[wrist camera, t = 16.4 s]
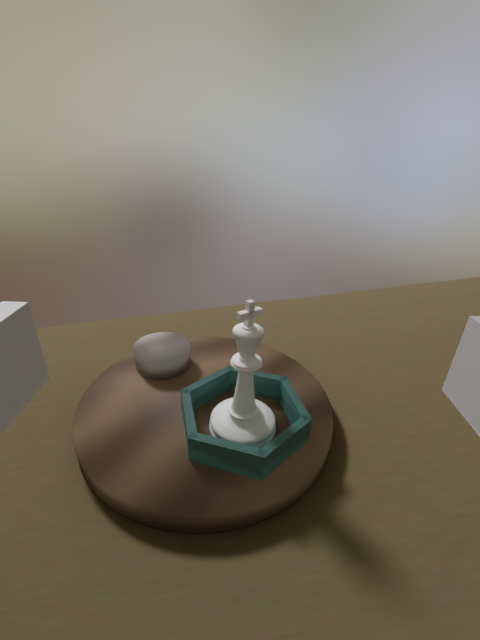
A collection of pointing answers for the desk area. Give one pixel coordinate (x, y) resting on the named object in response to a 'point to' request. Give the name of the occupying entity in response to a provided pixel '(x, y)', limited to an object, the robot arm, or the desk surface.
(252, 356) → the chess piece
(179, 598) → the desk surface
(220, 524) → the carrier
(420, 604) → the desk surface
